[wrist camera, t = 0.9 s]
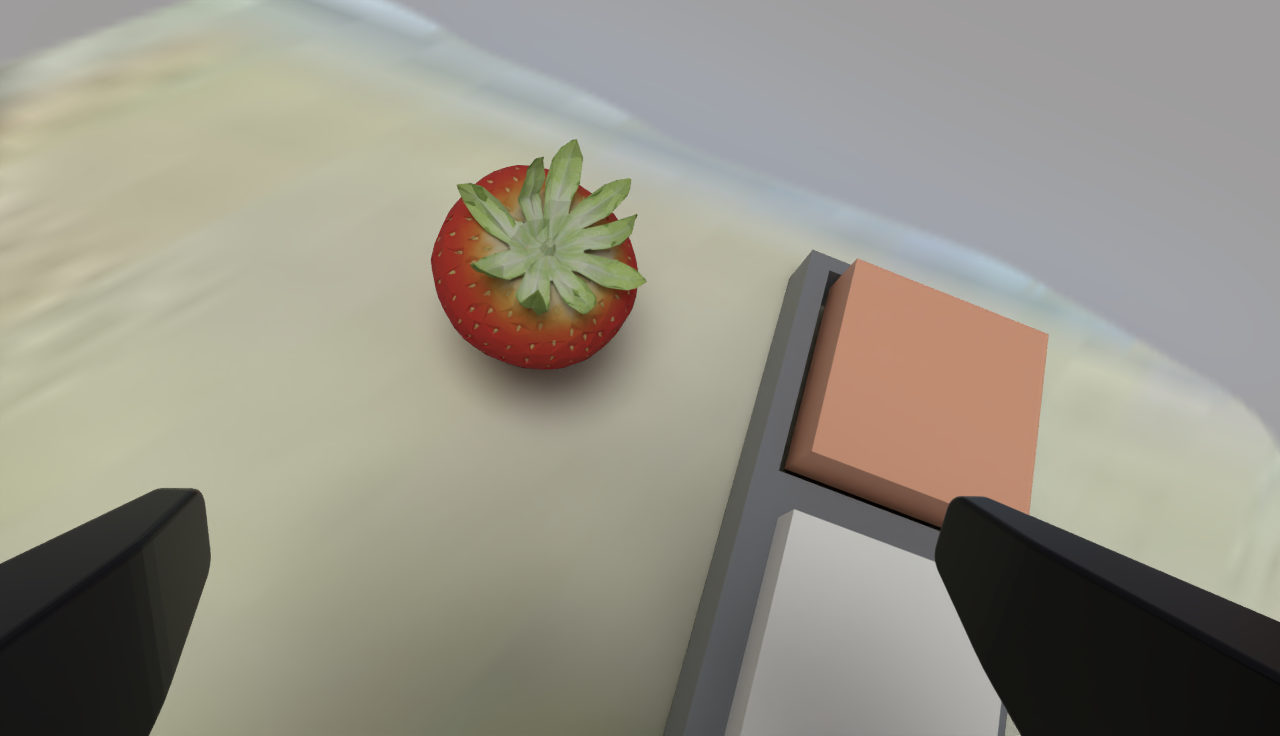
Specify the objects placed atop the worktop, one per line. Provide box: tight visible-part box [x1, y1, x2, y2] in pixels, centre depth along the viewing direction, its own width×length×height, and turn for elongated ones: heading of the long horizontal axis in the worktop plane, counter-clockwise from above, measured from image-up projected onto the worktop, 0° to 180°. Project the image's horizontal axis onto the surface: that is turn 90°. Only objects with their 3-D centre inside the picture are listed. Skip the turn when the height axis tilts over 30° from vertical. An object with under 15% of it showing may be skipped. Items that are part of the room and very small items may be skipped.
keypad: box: [663, 250, 1007, 736], centre depth 21 cm, size 22×8×3 cm, turn 162°
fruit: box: [431, 139, 647, 370], centre depth 20 cm, size 5×5×8 cm
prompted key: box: [785, 259, 1049, 528], centre depth 23 cm, size 6×6×2 cm
